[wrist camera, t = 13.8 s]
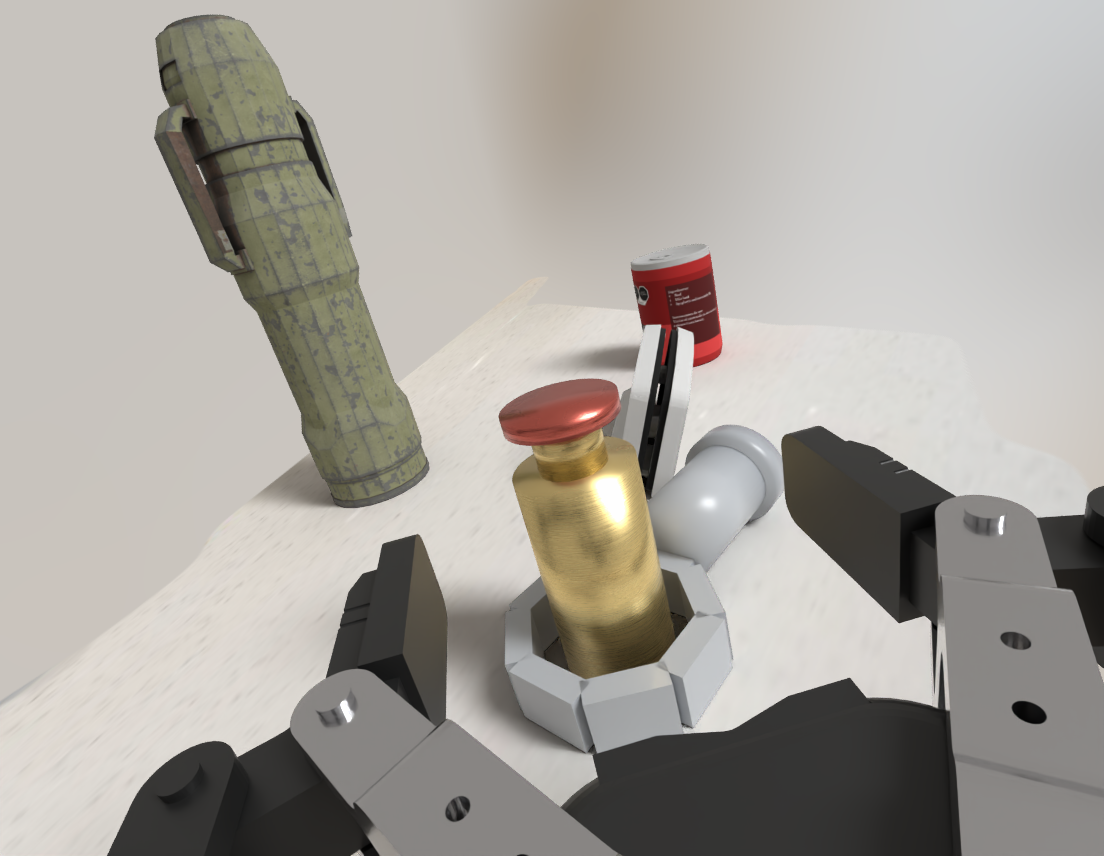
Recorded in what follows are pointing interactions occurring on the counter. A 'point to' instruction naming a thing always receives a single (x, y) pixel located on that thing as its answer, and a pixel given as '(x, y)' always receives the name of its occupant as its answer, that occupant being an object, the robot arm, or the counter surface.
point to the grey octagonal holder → (685, 556)
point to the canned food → (680, 296)
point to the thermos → (285, 249)
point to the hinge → (672, 403)
